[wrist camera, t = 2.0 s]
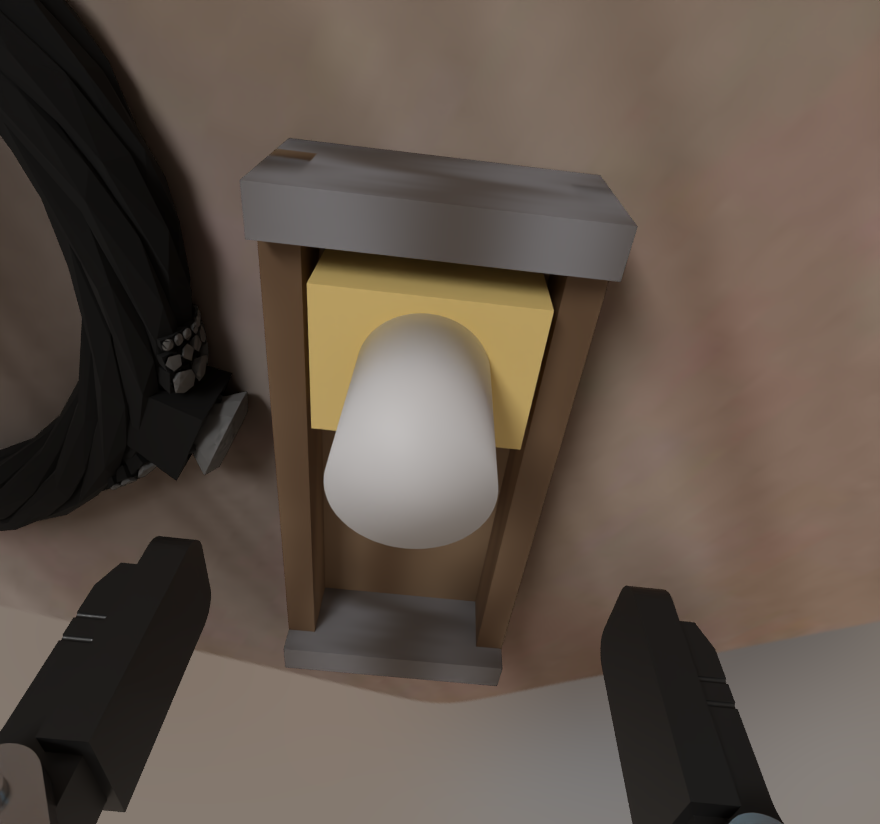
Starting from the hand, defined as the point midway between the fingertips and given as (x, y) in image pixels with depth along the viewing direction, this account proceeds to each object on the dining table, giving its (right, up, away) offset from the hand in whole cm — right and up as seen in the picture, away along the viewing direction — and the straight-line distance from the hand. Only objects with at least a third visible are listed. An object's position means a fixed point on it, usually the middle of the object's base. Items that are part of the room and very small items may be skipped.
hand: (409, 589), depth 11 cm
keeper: (0, +7, +9) cm, 11 cm away
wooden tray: (0, +3, +14) cm, 14 cm away
